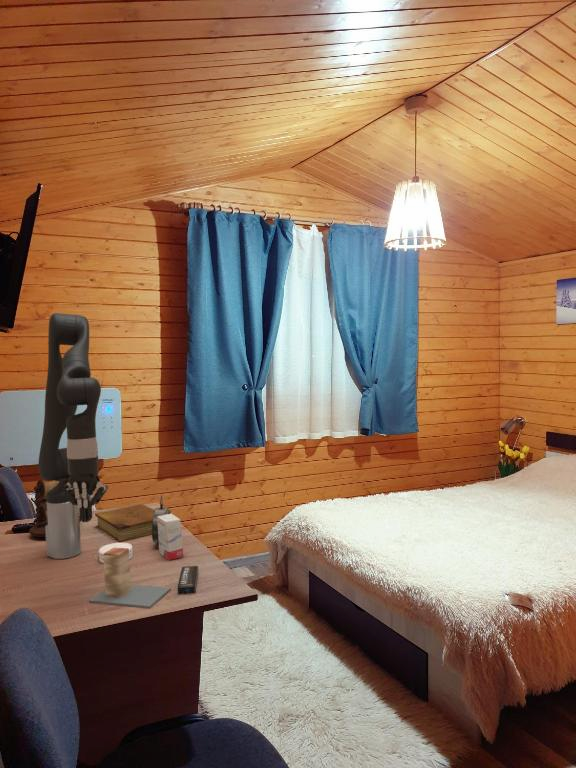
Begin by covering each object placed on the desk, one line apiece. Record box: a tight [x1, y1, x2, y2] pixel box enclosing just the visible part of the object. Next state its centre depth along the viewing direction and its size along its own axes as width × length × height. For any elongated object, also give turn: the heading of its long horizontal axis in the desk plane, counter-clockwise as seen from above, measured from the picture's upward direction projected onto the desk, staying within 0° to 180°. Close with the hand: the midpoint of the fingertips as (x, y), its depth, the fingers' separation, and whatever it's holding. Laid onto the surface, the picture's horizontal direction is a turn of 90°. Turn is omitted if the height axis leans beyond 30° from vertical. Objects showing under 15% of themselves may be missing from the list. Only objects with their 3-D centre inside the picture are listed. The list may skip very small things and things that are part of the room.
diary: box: [94, 503, 155, 543], centre depth 206 cm, size 23×19×6 cm
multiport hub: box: [177, 565, 199, 595], centre depth 155 cm, size 4×14×2 cm, turn 6°
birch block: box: [103, 548, 132, 597], centre depth 149 cm, size 4×4×11 cm
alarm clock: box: [151, 494, 172, 550], centre depth 187 cm, size 11×5×16 cm, turn 2°
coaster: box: [98, 542, 134, 564], centre depth 176 cm, size 10×10×4 cm
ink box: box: [157, 513, 184, 561], centre depth 177 cm, size 9×5×12 cm, turn 31°
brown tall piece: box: [28, 479, 60, 541], centre depth 202 cm, size 15×15×20 cm
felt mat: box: [88, 584, 172, 609], centre depth 148 cm, size 17×11×1 cm, turn 74°
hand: (86, 521), depth 150 cm, fingers closed
